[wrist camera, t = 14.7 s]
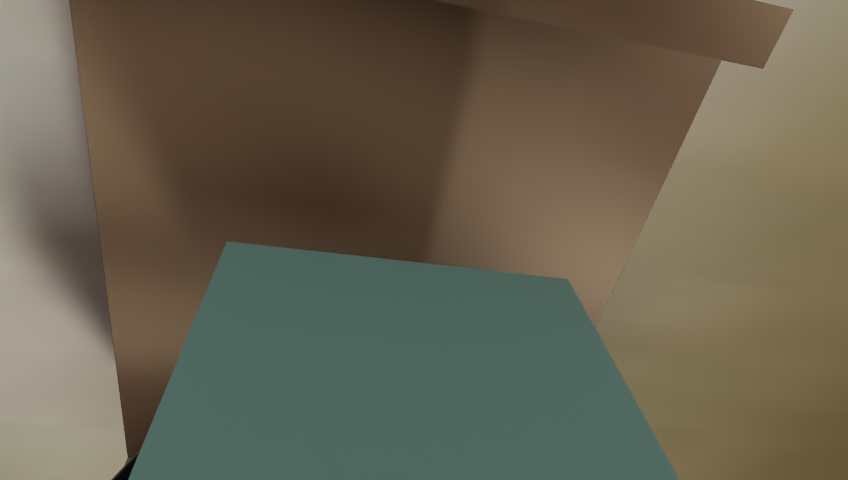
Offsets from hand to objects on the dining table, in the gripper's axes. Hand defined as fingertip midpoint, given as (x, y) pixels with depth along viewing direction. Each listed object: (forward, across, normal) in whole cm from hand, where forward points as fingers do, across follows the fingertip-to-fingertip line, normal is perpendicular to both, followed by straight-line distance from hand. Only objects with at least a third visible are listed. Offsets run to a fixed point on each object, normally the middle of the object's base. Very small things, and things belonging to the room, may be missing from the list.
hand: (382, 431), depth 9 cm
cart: (+7, 0, +1) cm, 7 cm away
